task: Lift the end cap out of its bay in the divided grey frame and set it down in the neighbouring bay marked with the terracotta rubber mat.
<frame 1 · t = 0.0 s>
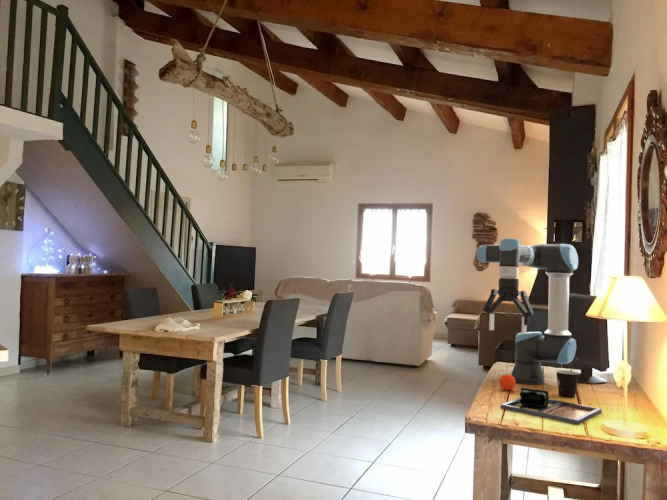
hand: (507, 331, 223), 28 cm above the table, fingers open, 13 cm apart
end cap: (533, 407, 218), resting in divided grey frame
divided grey frame: (551, 410, 213), on the table
clementine: (505, 390, 247), on the table
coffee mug: (566, 397, 237), on the table
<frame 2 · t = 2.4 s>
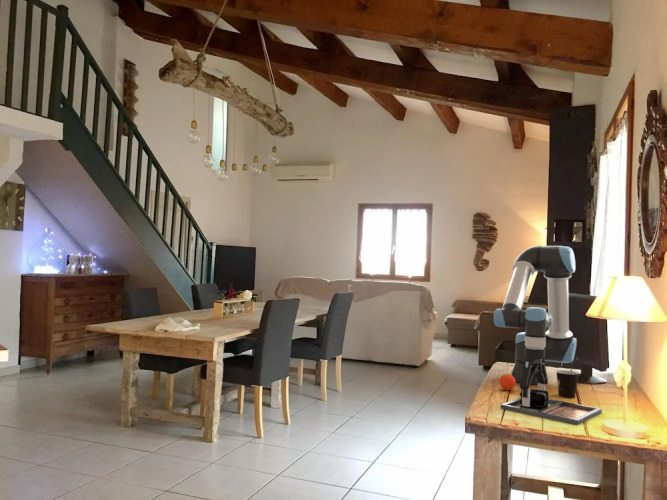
hand: (533, 403, 218), 1 cm above the table, fingers open, 13 cm apart
nothing on the table moved.
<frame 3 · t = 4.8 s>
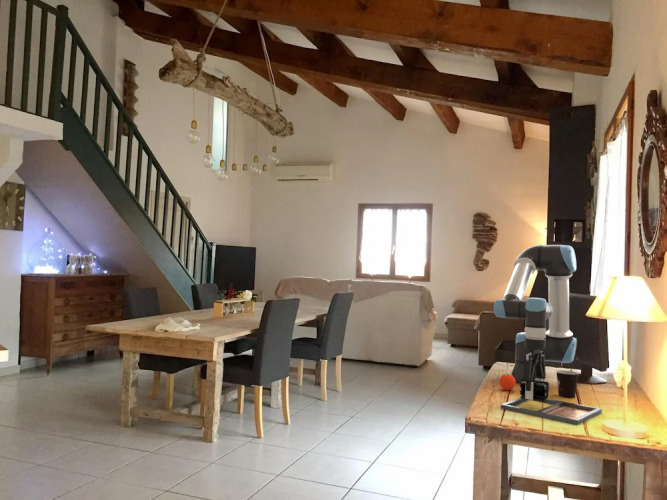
hand: (534, 397, 218), 4 cm above the table, fingers closed on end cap, 8 cm apart
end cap: (533, 398, 218), point 3 cm above the table, touching gripper
everything else where it was.
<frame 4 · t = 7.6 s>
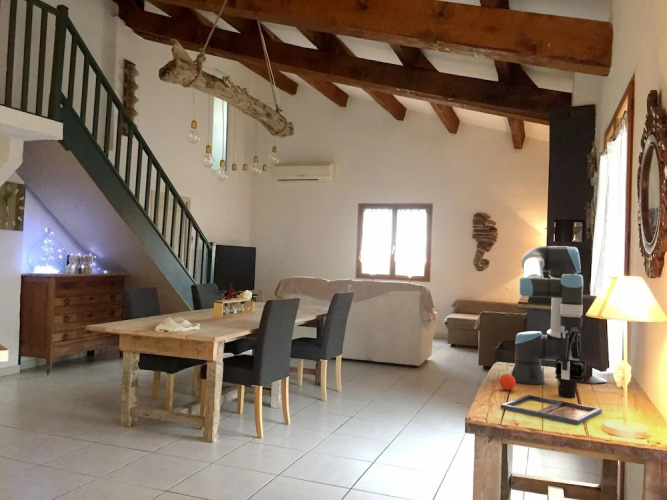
hand: (569, 377, 209), 13 cm above the table, fingers closed on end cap, 8 cm apart
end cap: (569, 379, 209), point 13 cm above the table, touching gripper
everything else where it was.
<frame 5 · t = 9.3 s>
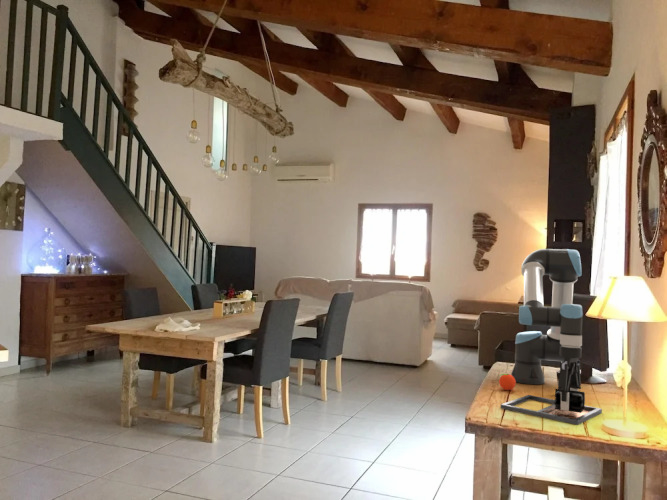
hand: (569, 408, 209), 2 cm above the table, fingers closed on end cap, 8 cm apart
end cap: (569, 409, 209), point 2 cm above the table, touching gripper
everything else where it was.
when the fingers open (1 cm above the table, at t = 10.6 s): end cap stays where it is, resting on divided grey frame.
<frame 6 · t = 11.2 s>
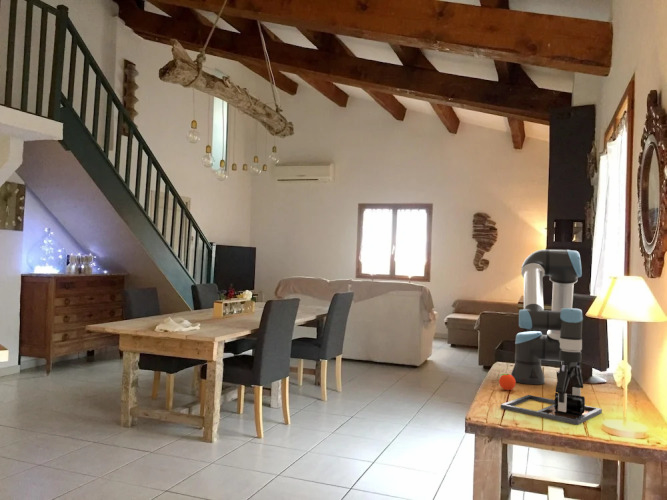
hand: (569, 408, 209), 2 cm above the table, fingers open, 13 cm apart
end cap: (569, 413, 209), resting on divided grey frame
everything else where it was.
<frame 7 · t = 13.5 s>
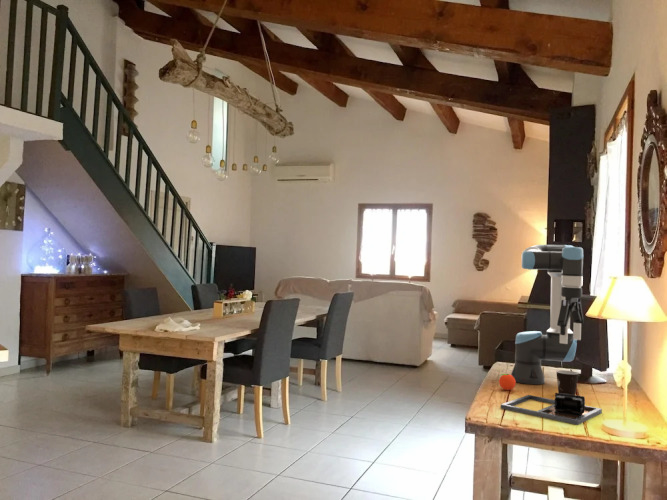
hand: (570, 341, 220), 25 cm above the table, fingers open, 13 cm apart
nothing on the table moved.
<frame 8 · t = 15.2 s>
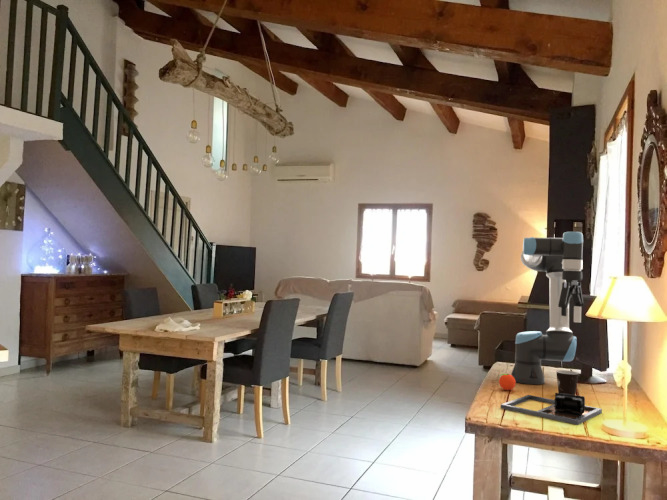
hand: (571, 323, 227), 32 cm above the table, fingers open, 13 cm apart
nothing on the table moved.
at the end: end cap inside the target area on the divided grey frame (0.1 cm from its centre), point 0.1 cm above the divided grey frame's base; the gripper is holding nothing; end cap moved 13.4 cm from its start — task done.
